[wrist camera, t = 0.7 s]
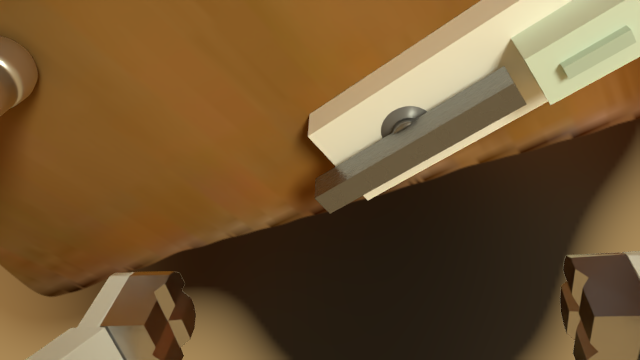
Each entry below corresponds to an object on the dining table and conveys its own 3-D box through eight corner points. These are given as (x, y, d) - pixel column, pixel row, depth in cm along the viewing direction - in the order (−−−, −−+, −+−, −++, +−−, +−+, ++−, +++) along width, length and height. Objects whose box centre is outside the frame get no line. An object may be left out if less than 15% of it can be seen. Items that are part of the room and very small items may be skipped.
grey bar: (314, 172, 52) (312, 196, 49) (500, 59, 44) (512, 80, 41) (332, 190, 53) (332, 215, 50) (516, 84, 45) (528, 106, 42)
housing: (309, 114, 53) (307, 136, 50) (596, -76, 41) (617, -63, 38) (366, 176, 57) (367, 200, 54) (636, 21, 46) (659, 41, 43)
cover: (510, 38, 43) (527, 64, 39) (622, -31, 39) (652, -9, 36) (536, 81, 45) (553, 110, 42) (642, 20, 42) (673, 46, 38)
